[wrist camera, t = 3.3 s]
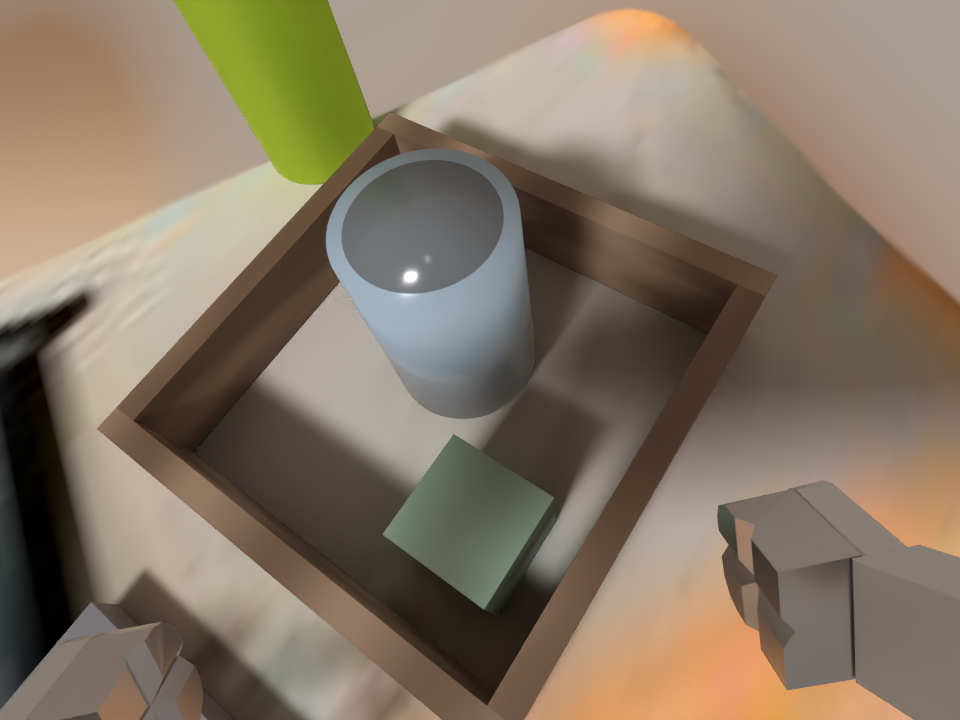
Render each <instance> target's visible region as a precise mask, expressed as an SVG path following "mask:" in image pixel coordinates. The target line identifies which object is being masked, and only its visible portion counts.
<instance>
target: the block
mask: <svg viewBox="0 0 960 720" xmlns="http://www.w3.org/2000/svg"><path fill="white" fill-rule="evenodd" d="M555 523H556V513H555V501H554V497H552V496H551V495H549V494H548V493H546V492H545V491H543V490H541V489H540V488H538V487H537V486H535V485H533V484H532V483H530V482H529V481H527V480H526V479H524V478H522V477H521V476H519V475H518V474H516V473H514V472H513V471H511V470H510V469H508V468H507V467H505V466H503V465H502V464H500V463H499V462H497V461H495V460H494V459H492V458H491V457H489V456H488V455H486V454H484V453H483V452H481V451H480V450H478V449H476V448H475V447H473V446H472V445H470V444H469V443H467V442H465V441H464V440H462V439H461V438H459V437H457V436H456V435H454V434H453V436H452V437H451V439H450V440H449V441H448V443H447V444H446V446H445V447H444V448H443V450H442V451H441V453H440V454H439V456H438V457H437V458H436V460H435V461H434V463H433V464H432V465H431V467H430V468H429V470H428V471H427V472H426V474H425V475H424V477H423V478H422V479H421V481H420V482H419V484H418V485H417V486H416V488H415V489H414V491H413V492H412V494H411V495H410V496H409V498H408V499H407V501H406V502H405V503H404V505H403V506H402V508H401V509H400V510H399V512H398V513H397V515H396V516H395V517H394V519H393V520H392V522H391V523H390V524H389V526H388V527H387V529H386V530H385V532H384V533H383V534H382V535H384V536H385V537H386V538H388V539H389V540H390V541H392V542H393V543H394V544H396V545H397V546H399V547H400V548H401V549H403V550H404V551H405V552H407V553H408V554H409V555H411V556H412V557H413V558H415V559H416V560H417V561H419V562H420V563H421V564H423V565H424V566H426V567H427V568H428V569H430V570H431V571H432V572H434V573H435V574H436V575H438V576H439V577H440V578H442V579H443V580H444V581H446V582H447V583H449V584H450V585H451V586H453V587H454V588H455V589H457V590H458V591H459V592H461V593H462V594H463V595H465V596H466V597H467V598H469V599H470V600H471V601H473V602H474V603H476V604H477V605H478V606H480V607H481V608H482V609H484V610H485V611H487V612H489V613H491V614H493V615H495V616H497V617H498V615H499V613H500V612H501V610H502V608H503V607H504V605H505V604H506V602H507V600H508V599H509V597H510V595H511V594H512V592H513V591H514V589H515V587H516V586H517V584H518V583H519V581H520V579H521V578H522V576H523V574H524V573H525V571H526V570H527V568H528V566H529V565H530V563H531V561H532V560H533V558H534V557H535V555H536V553H537V552H538V550H539V548H540V547H541V545H542V544H543V542H544V540H545V539H546V537H547V536H548V534H549V532H550V531H551V529H552V527H553V526H554V524H555Z"/></svg>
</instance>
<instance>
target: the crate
mask: <svg viewBox="0 0 960 720" xmlns="http://www.w3.org/2000/svg"><path fill="white" fill-rule="evenodd" d="M422 149H452V150H458V151H462V152H467V153H470V154H472V155H475V156H478V157H480V158H482V159H484V160H486V161H488V162H489V163H491V164H492V165H493V166H495V167H496V168H497V169H498V170H499V171H501V172H502V173H503V174H504V175H505V177H506V178H507V179H508V180H509V182H510V183H511V185H512V187H513V189H514V190H515V193H516V195H517V198H518V201H519V207H520V213H521V222H522V231H523V240H524V247H526V248H528V249H531V250H533V251H535V252H537V253H539V254H541V255H543V256H545V257H547V258H549V259H552V260H554V261H556V262H558V263H560V264H562V265H564V266H566V267H568V268H571V269H573V270H575V271H577V272H579V273H581V274H583V275H585V276H587V277H589V278H592V279H594V280H596V281H598V282H600V283H602V284H604V285H606V286H608V287H611V288H613V289H615V290H617V291H619V292H621V293H623V294H625V295H627V296H629V297H632V298H634V299H636V300H638V301H640V302H642V303H644V304H646V305H648V306H651V307H653V308H655V309H657V310H659V311H661V312H663V313H665V314H667V315H669V316H672V317H674V318H676V319H678V320H680V321H682V322H684V323H686V324H688V325H691V326H693V327H695V328H697V329H699V330H701V331H703V332H705V333H707V334H708V335H707V337H706V338H705V340H704V342H703V344H702V345H701V347H700V349H699V350H698V352H697V354H696V355H695V357H694V359H693V360H692V362H691V364H690V365H689V367H688V369H687V370H686V372H685V374H684V375H683V377H682V379H681V381H680V382H679V384H678V386H677V387H676V389H675V391H674V392H673V394H672V396H671V397H670V399H669V401H668V402H667V404H666V406H665V407H664V409H663V411H662V412H661V414H660V416H659V418H658V419H657V421H656V423H655V424H654V426H653V428H652V429H651V431H650V433H649V434H648V436H647V438H646V439H645V441H644V443H643V444H642V446H641V448H640V449H639V451H638V453H637V454H636V456H635V458H634V460H633V461H632V463H631V465H630V466H629V468H628V470H627V471H626V473H625V475H624V476H623V478H622V480H621V481H620V483H619V485H618V486H617V488H616V490H615V491H614V493H613V495H612V497H611V498H610V500H609V502H608V503H607V505H606V507H605V508H604V510H603V512H602V513H601V515H600V517H599V518H598V520H597V522H596V523H595V525H594V527H593V528H592V530H591V532H590V534H589V535H588V537H587V539H586V540H585V542H584V544H583V545H582V547H581V549H580V550H579V552H578V554H577V555H576V557H575V559H574V560H573V562H572V564H571V565H570V567H569V569H568V571H567V572H566V574H565V576H564V577H563V579H562V581H561V582H560V584H559V586H558V587H557V589H556V591H555V592H554V594H553V596H552V597H551V599H550V601H549V602H548V604H547V606H546V608H545V609H544V611H543V613H542V614H541V616H540V618H539V619H538V621H537V623H536V624H535V626H534V628H533V629H532V631H531V633H530V634H529V636H528V638H527V639H526V641H525V643H524V645H523V646H522V648H521V650H520V651H519V653H518V655H517V656H516V658H515V660H514V661H513V663H512V665H511V666H510V668H509V670H508V671H507V673H506V675H505V676H504V678H503V680H502V681H501V683H500V685H499V687H498V688H497V690H496V692H495V691H494V690H492V689H491V688H490V687H489V686H487V685H486V684H485V683H484V682H482V681H481V680H480V679H478V678H477V677H476V676H475V675H473V674H472V673H471V672H470V671H468V670H467V669H466V668H465V667H463V666H462V665H461V664H460V663H458V662H457V661H456V660H455V659H453V658H452V657H451V656H449V655H448V654H447V653H446V652H444V651H443V650H442V649H441V648H439V647H438V646H437V645H436V644H434V643H433V642H432V641H431V640H429V639H428V638H427V637H425V636H424V635H423V634H422V633H420V632H419V631H418V630H417V629H415V628H414V627H413V626H412V625H410V624H409V623H408V622H407V621H405V620H404V619H403V618H401V617H400V616H399V615H398V614H396V613H395V612H394V611H393V610H391V609H390V608H389V607H388V606H386V605H385V604H384V603H383V602H381V601H380V600H379V599H377V598H376V597H375V596H374V595H372V594H371V593H370V592H369V591H367V590H366V589H365V588H364V587H362V586H361V585H360V584H359V583H357V582H356V581H355V580H353V579H352V578H351V577H350V576H348V575H347V574H346V573H345V572H343V571H342V570H341V569H340V568H338V567H337V566H336V565H335V564H333V563H332V562H331V561H329V560H328V559H327V558H326V557H324V556H323V555H322V554H321V553H319V552H318V551H317V550H316V549H314V548H313V547H312V546H311V545H309V544H308V543H307V542H306V541H304V540H303V539H302V538H300V537H299V536H298V535H297V534H295V533H294V532H293V531H292V530H290V529H289V528H288V527H287V526H285V525H284V524H283V523H282V522H280V521H279V520H278V519H276V518H275V517H274V516H273V515H271V514H270V513H269V512H268V511H266V510H265V509H264V508H263V507H261V506H260V505H259V504H258V503H256V502H255V501H254V500H252V499H251V498H250V497H249V496H247V495H246V494H245V493H244V492H242V491H241V490H240V489H239V488H237V487H236V486H235V485H234V484H232V483H231V482H230V481H228V480H227V479H226V478H225V477H223V476H222V475H221V474H220V473H218V472H217V471H216V470H215V469H213V468H212V467H211V466H210V465H208V464H207V463H206V462H204V461H203V460H202V459H201V458H199V457H198V456H197V455H196V454H194V453H193V452H194V451H195V449H196V448H197V447H198V446H199V445H200V444H201V442H202V441H203V440H204V439H205V438H206V437H207V435H208V434H209V433H210V432H211V431H212V430H213V428H214V427H215V426H216V425H217V424H218V423H219V421H220V420H221V419H222V418H223V417H224V416H225V414H226V413H227V412H228V411H229V410H230V409H231V407H232V406H233V405H234V404H235V403H236V402H237V400H238V399H239V398H240V397H241V396H242V395H243V393H244V392H245V391H246V390H247V389H248V388H249V386H250V385H251V384H252V383H253V382H254V381H255V379H256V378H257V377H258V376H259V375H260V374H261V372H262V371H263V370H264V369H265V368H266V367H267V365H268V364H269V363H270V362H271V361H272V360H273V358H274V357H275V356H276V355H277V354H278V353H279V351H280V350H281V349H282V348H283V347H284V346H285V344H286V343H287V342H288V341H289V340H290V339H291V337H292V336H293V335H294V334H295V333H296V332H297V330H298V329H299V328H300V327H301V326H302V325H303V323H304V322H305V321H306V320H307V319H308V318H309V316H310V315H311V314H312V313H313V312H314V311H315V309H316V308H317V307H318V306H319V305H320V304H321V302H322V301H323V300H324V299H325V298H326V297H327V295H328V294H329V293H330V292H331V291H332V290H333V288H334V287H335V286H336V285H337V284H338V283H339V281H340V280H339V279H338V277H337V275H336V274H335V272H334V270H333V268H332V266H331V264H330V261H329V258H328V255H327V249H326V232H327V225H328V222H329V219H330V215H331V213H332V211H333V209H334V207H335V205H336V203H337V201H338V200H339V198H340V197H341V195H342V194H343V193H344V192H345V190H346V189H347V188H348V187H349V186H350V185H351V184H352V183H353V182H354V181H355V180H356V179H357V178H358V177H359V176H361V175H362V174H363V173H364V172H366V171H367V170H369V169H370V168H372V167H373V166H375V165H377V164H379V163H381V162H383V161H385V160H387V159H389V158H392V157H394V156H397V155H400V154H403V153H407V152H411V151H416V150H422ZM776 276H777V275H775V274H773V273H770V272H768V271H766V270H763V269H761V268H758V267H756V266H754V265H751V264H749V263H747V262H744V261H742V260H740V259H737V258H735V257H732V256H730V255H728V254H725V253H723V252H721V251H718V250H716V249H713V248H711V247H709V246H706V245H704V244H702V243H699V242H697V241H695V240H692V239H690V238H687V237H685V236H683V235H680V234H678V233H676V232H673V231H671V230H668V229H666V228H664V227H661V226H659V225H657V224H654V223H652V222H650V221H647V220H645V219H642V218H640V217H638V216H635V215H633V214H631V213H628V212H626V211H623V210H621V209H619V208H616V207H614V206H612V205H609V204H607V203H605V202H602V201H600V200H597V199H595V198H593V197H590V196H588V195H586V194H583V193H581V192H578V191H576V190H574V189H571V188H569V187H567V186H564V185H562V184H560V183H557V182H555V181H552V180H550V179H548V178H545V177H543V176H541V175H538V174H536V173H533V172H531V171H529V170H526V169H524V168H522V167H519V166H517V165H515V164H512V163H510V162H507V161H505V160H503V159H500V158H498V157H496V156H493V155H491V154H488V153H486V152H484V151H481V150H479V149H477V148H474V147H472V146H470V145H467V144H465V143H462V142H460V141H458V140H455V139H453V138H451V137H448V136H446V135H443V134H441V133H439V132H436V131H434V130H432V129H429V128H427V127H425V126H422V125H420V124H417V123H415V122H413V121H410V120H408V119H406V118H403V117H401V116H398V115H396V114H394V113H391V112H390V113H389V114H388V115H387V116H386V117H385V118H384V119H383V120H382V121H381V123H380V124H379V125H378V126H377V127H376V128H375V129H374V130H373V131H372V132H371V133H370V134H369V136H368V137H367V138H366V139H365V140H364V141H363V142H362V143H361V144H360V145H359V146H358V147H357V148H356V150H355V151H354V152H353V153H352V154H351V155H350V156H349V157H348V158H347V159H346V160H345V161H344V162H343V164H342V165H341V166H340V167H339V168H338V169H337V170H336V171H335V172H334V173H333V174H332V175H331V177H330V178H329V179H328V180H327V181H326V182H325V183H324V184H323V185H322V186H321V187H320V188H319V189H318V191H317V192H316V193H315V194H314V195H313V196H312V197H311V198H310V199H309V200H308V201H307V202H306V203H305V205H304V206H303V207H302V208H301V209H300V210H299V211H298V212H297V213H296V214H295V215H294V216H293V218H292V219H291V220H290V221H289V222H288V223H287V224H286V225H285V226H284V227H283V228H282V229H281V230H280V232H279V233H278V234H277V235H276V236H275V237H274V238H273V239H272V240H271V241H270V242H269V243H268V244H267V246H266V247H265V248H264V249H263V250H262V251H261V252H260V253H259V254H258V255H257V256H256V257H255V259H254V260H253V261H252V262H251V263H250V264H249V265H248V266H247V267H246V268H245V269H244V270H243V271H242V273H241V274H240V275H239V276H238V277H237V278H236V279H235V280H234V281H233V282H232V283H231V284H230V285H229V287H228V288H227V289H226V290H225V291H224V292H223V293H222V294H221V295H220V296H219V297H218V298H217V300H216V301H215V302H214V303H213V304H212V305H211V306H210V307H209V308H208V309H207V310H206V311H205V312H204V314H203V315H202V316H201V317H200V318H199V319H198V320H197V321H196V322H195V323H194V324H193V325H192V327H191V328H190V329H189V330H188V331H187V332H186V333H185V334H184V335H183V336H182V337H181V338H180V339H179V341H178V342H177V343H176V344H175V345H174V346H173V347H172V348H171V349H170V350H169V351H168V352H167V353H166V355H165V356H164V357H163V358H162V359H161V360H160V361H159V362H158V363H157V364H156V365H155V366H154V368H153V369H152V370H151V371H150V372H149V373H148V374H147V375H146V376H145V377H144V378H143V379H142V380H141V382H140V383H139V384H138V385H137V386H136V387H135V388H134V389H133V390H132V391H131V392H130V393H129V394H128V396H127V397H126V398H125V399H124V400H123V401H122V402H121V403H120V404H119V405H118V406H117V407H116V409H115V410H114V411H113V412H112V413H111V414H110V415H109V416H108V417H107V418H106V419H105V420H104V421H103V423H102V424H101V425H100V426H99V427H98V428H97V429H98V430H99V431H100V432H101V433H102V434H104V435H105V436H106V437H107V438H108V439H110V440H111V441H112V442H113V443H114V444H115V445H117V446H118V447H119V448H120V449H121V450H123V451H124V452H125V453H126V454H127V455H129V456H130V457H131V458H132V459H133V460H134V461H136V462H137V463H138V464H139V465H140V466H142V467H143V468H144V469H145V470H146V471H148V472H149V473H150V474H151V475H152V476H153V477H155V478H156V479H157V480H158V481H159V482H161V483H162V484H163V485H164V486H165V487H167V488H168V489H169V490H170V491H171V492H172V493H174V494H175V495H176V496H177V497H178V498H180V499H181V500H182V501H183V502H184V503H186V504H187V505H188V506H189V507H190V508H191V509H193V510H194V511H195V512H196V513H197V514H199V515H200V516H201V517H202V518H203V519H205V520H206V521H207V522H208V523H209V524H210V525H212V526H213V527H214V528H215V529H216V530H218V531H219V532H220V533H221V534H222V535H224V536H225V537H226V538H227V539H228V540H229V541H231V542H232V543H233V544H234V545H235V546H237V547H238V548H239V549H240V550H241V551H243V552H244V553H245V554H246V555H247V556H248V557H250V558H251V559H252V560H253V561H254V562H256V563H257V564H258V565H259V566H260V567H262V568H263V569H264V570H265V571H266V572H267V573H269V574H270V575H271V576H272V577H273V578H275V579H276V580H277V581H278V582H279V583H281V584H282V585H283V586H284V587H285V588H286V589H288V590H289V591H290V592H291V593H292V594H294V595H295V596H296V597H297V598H298V599H300V600H301V601H302V602H303V603H304V604H305V605H307V606H308V607H309V608H310V609H311V610H313V611H314V612H315V613H316V614H317V615H319V616H320V617H321V618H322V619H323V620H324V621H326V622H327V623H328V624H329V625H330V626H332V627H333V628H334V629H335V630H336V631H338V632H339V633H340V634H341V635H342V636H343V637H345V638H346V639H347V640H348V641H349V642H351V643H352V644H353V645H354V646H355V647H357V648H358V649H359V650H360V651H361V652H362V653H364V654H365V655H366V656H367V657H368V658H370V659H371V660H372V661H373V662H374V663H376V664H377V665H378V666H379V667H380V668H381V669H383V670H384V671H385V672H386V673H387V674H389V675H390V676H391V677H392V678H393V679H395V680H396V681H397V682H398V683H399V684H400V685H402V686H403V687H404V688H405V689H406V690H408V691H409V692H410V693H411V694H412V695H414V696H415V697H416V698H417V699H418V700H419V701H421V702H422V703H423V704H424V705H425V706H427V707H428V708H429V709H430V710H431V711H433V712H434V713H435V714H436V715H437V716H438V717H440V718H441V719H442V720H524V719H525V717H526V715H527V714H528V712H529V710H530V708H531V707H532V705H533V703H534V701H535V700H536V698H537V696H538V694H539V693H540V691H541V689H542V687H543V686H544V684H545V682H546V680H547V679H548V677H549V675H550V673H551V672H552V670H553V668H554V666H555V665H556V663H557V661H558V659H559V658H560V656H561V654H562V652H563V651H564V649H565V647H566V645H567V644H568V642H569V640H570V638H571V637H572V635H573V633H574V631H575V630H576V628H577V626H578V624H579V623H580V621H581V619H582V617H583V616H584V614H585V612H586V610H587V609H588V607H589V605H590V603H591V602H592V600H593V598H594V596H595V595H596V593H597V591H598V589H599V588H600V586H601V584H602V582H603V581H604V579H605V577H606V575H607V574H608V572H609V570H610V568H611V567H612V565H613V563H614V561H615V560H616V558H617V556H618V554H619V553H620V551H621V549H622V547H623V546H624V544H625V542H626V540H627V539H628V537H629V535H630V533H631V532H632V530H633V528H634V526H635V525H636V523H637V521H638V519H639V518H640V516H641V514H642V512H643V511H644V509H645V507H646V505H647V504H648V502H649V500H650V498H651V497H652V495H653V493H654V491H655V490H656V488H657V486H658V484H659V483H660V481H661V479H662V477H663V476H664V474H665V472H666V470H667V469H668V467H669V465H670V463H671V462H672V460H673V458H674V456H675V455H676V453H677V451H678V449H679V448H680V446H681V444H682V442H683V441H684V439H685V437H686V435H687V434H688V432H689V430H690V428H691V427H692V425H693V423H694V421H695V420H696V418H697V416H698V414H699V413H700V411H701V409H702V407H703V406H704V404H705V402H706V400H707V399H708V397H709V395H710V393H711V392H712V390H713V388H714V386H715V385H716V383H717V381H718V379H719V378H720V376H721V374H722V372H723V371H724V369H725V367H726V365H727V364H728V362H729V360H730V358H731V357H732V355H733V353H734V352H735V350H736V348H737V346H738V345H739V343H740V341H741V339H742V338H743V336H744V334H745V332H746V331H747V329H748V327H749V325H750V323H751V322H752V320H753V318H754V316H755V314H756V313H757V311H758V309H759V307H760V305H761V304H762V302H763V300H764V298H765V296H766V295H767V293H768V291H769V289H770V287H771V285H772V284H773V282H774V280H775V278H776Z"/></svg>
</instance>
